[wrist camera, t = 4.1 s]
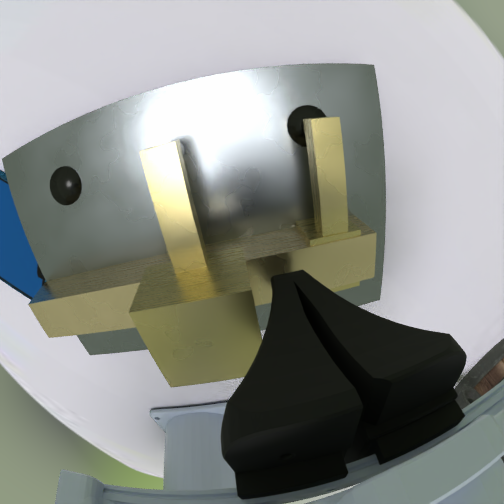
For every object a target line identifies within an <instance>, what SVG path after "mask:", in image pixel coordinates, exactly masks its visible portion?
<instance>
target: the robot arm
mask: <svg viewBox="0 0 504 504" xmlns="http://www.w3.org/2000/svg"><path fill="white" fill-rule="evenodd" d="M270 280H271V287H272V302H271V310H270V315H269V319H268V324H267V327H266V331H265V334H264V337H263V340H262V343H261V345H260V347H259V350H258V352H257V355H256V357H255V359H254V361H253V363H252V365H251V367H250V368H249V370H248V372H247V374H246V375H245V377H244V379H243V381H242V382H241V384H240V385H239V387H238V388H237V389H236V391H235V392H234V394H233V395H232V396H231V398H230V399H229V400H228V402H225V403H218V404H211V405H203V406H194V407H184V408H172V409H157V410H151V411H150V416H151V417H152V418H153V420H154V421H155V422H156V423H157V424H158V425H159V426H160V427H161V428H162V430H163V431H164V432H165V433H166V437H165V456H164V490H154V489H153V490H152V489H140V488H130V487H121V486H114V485H107V484H103V483H102V482H101V481H99V480H98V479H96V478H94V477H92V476H89V475H86V474H82V473H77V472H72V471H68V470H64V469H63V470H61V472H60V477H59V482H58V488H57V494H56V501H55V504H284V503H289V502H294V501H299V500H303V499H308V498H312V497H316V496H319V495H323V494H327V493H331V492H334V491H337V490H340V489H343V488H347V487H350V486H353V485H356V484H358V485H356V486H354V487H352V488H351V489H348V490H345V491H342V492H340V493H337V494H334V495H331V496H328V497H325V498H322V499H319V500H316V501H312V502H309V503H306V504H504V463H503V461H502V459H501V457H502V456H503V455H504V380H503V381H501V382H500V383H499V384H498V385H496V386H495V387H494V388H492V389H491V390H490V391H488V392H487V393H486V394H484V395H483V396H481V397H480V398H479V399H477V400H476V401H474V402H473V403H471V404H470V405H468V406H467V407H465V408H464V409H462V410H461V408H460V406H459V405H458V403H457V402H456V400H455V399H456V398H457V397H458V394H457V392H456V391H455V389H454V388H453V387H454V385H455V384H456V382H457V380H458V378H459V377H460V375H461V373H462V371H463V369H464V366H465V364H466V357H467V356H466V354H465V352H464V351H463V349H462V348H461V347H460V346H459V344H458V343H457V342H456V341H455V340H454V338H453V337H452V336H451V335H450V334H446V333H440V332H433V331H427V330H422V329H418V328H414V327H410V326H406V325H403V324H399V323H396V322H393V321H390V320H388V319H385V318H382V317H380V316H377V315H375V314H372V313H370V312H368V311H366V310H364V309H362V308H360V307H358V306H356V305H354V304H352V303H350V302H349V301H347V300H345V299H344V298H342V297H340V296H339V295H337V294H336V293H334V292H333V291H331V290H330V289H328V288H327V287H326V286H324V285H323V284H321V283H320V282H319V281H317V280H316V279H315V278H313V277H312V276H311V275H310V274H308V273H307V272H306V271H304V270H298V271H294V272H289V273H284V274H280V275H275V276H272V278H271V279H270ZM361 482H362V483H361ZM359 483H360V484H359Z"/></svg>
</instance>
